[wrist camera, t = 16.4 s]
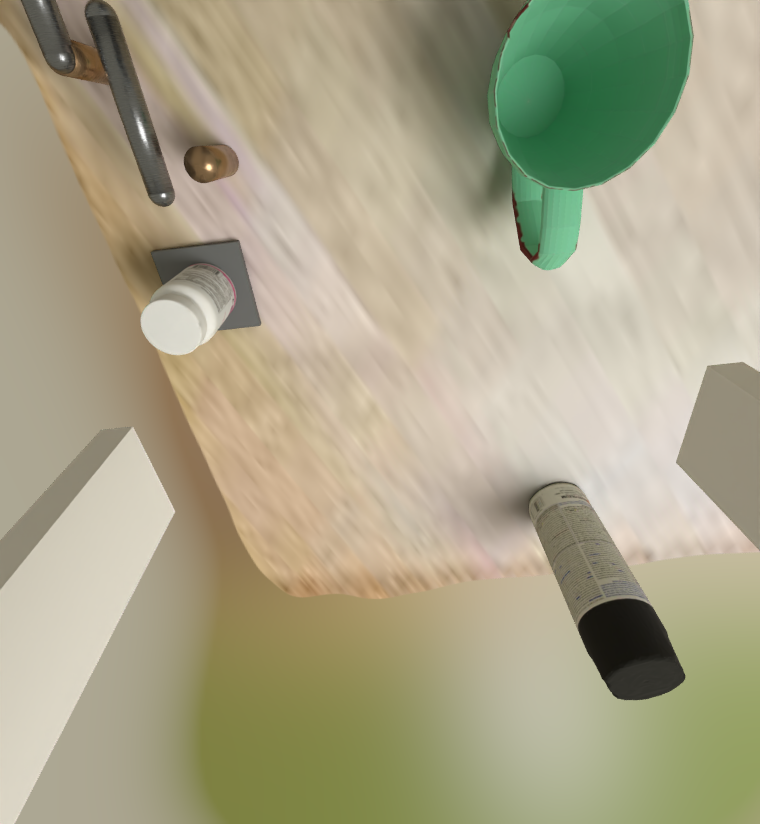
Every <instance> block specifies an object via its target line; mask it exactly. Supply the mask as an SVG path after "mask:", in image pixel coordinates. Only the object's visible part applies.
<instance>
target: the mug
mask: <svg viewBox="0 0 760 824" xmlns="http://www.w3.org/2000/svg"><path fill="white" fill-rule="evenodd" d="M693 38H694V35H693V28H692V22H691V16H690V10H689V3H688V0H527V2H526V3H525V5H524V6H523V7H522V9H521V10H520V11H519V13H518V14H517V16H516V17H515V18H514V20H513V22H512V24H511V25H510V27H509V29H508V31H507V32H506V34H505V37H504V39H503V41H502V44H501V46H500V48H499V51H498V53H497V55H496V59H495V61H494V64H493V67H492V72H491V78H490V83H489V89H488V94H487V99H488V111H489V123H490V126H491V128H492V131H493V133H494V136H495V138H496V141H497V143H498V146H499V148H500V150H501V152H502V154H503V155H504V156H505V157H506V159H507V160H508V161H509V162H510V163H511V164H512V203H513V209H514V215H515V221H516V227H517V233H518V239H519V245H520V250H521V251H522V253H523V254H524V255H525V256H526V257H527V258H528V259H529V260H530V262H531V263H532V264H534V265H535V266H537V267H539V268H541V269H543V270H552V269H556V268H559V267H560V266H562V265H563V264H564V263H565V262H566V261H567V260H568V258H569V257H570V256H571V255H572V254H573V253H574V251H575V250H576V247H577V241H578V235H579V228H580V220H581V209H582V197H583V189H585V188H589V187H593V186H598V185H602V184H604V183H605V182H607V181H609V180H611V179H612V178H614V177H616V176H617V175H619V174H621V173H622V172H624V171H626V170H628V169H629V168H631V167H632V166H633V165H634V164H635V163H636V162H637V161H638V160H639V159H640V158H641V157H642V156H643V155H644V154H645V153H646V152H647V151H648V150H649V149H650V148H651V147H652V146H653V145H654V144H655V143H656V141H657V140H658V138H659V136H660V135H661V133H662V132H663V130H664V129H665V127H666V126H667V124H668V122H669V121H670V119H671V118H672V116H673V115H674V113H675V111H676V109H677V106H678V103H679V101H680V98H681V95H682V93H683V90H684V87H685V84H686V82H687V79H688V76H689V71H690V63H691V54H692V46H693Z"/></svg>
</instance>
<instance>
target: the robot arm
mask: <svg viewBox="0 0 760 824" xmlns="http://www.w3.org/2000/svg"><path fill="white" fill-rule="evenodd" d="M676 463H677V464H678V465H679V466H680V467H681V468H682V469H683V470H684V471H685V472H686V473H687V474H688V476H689V477H690V478H691V479H692V480H693V481H694V482H695V483H696V484H697V485H698V486H699V487H700V488H701V489H702V490H703V491H704V492H705V493H706V494H707V496H708V497H709V498H710V499H711V500H712V501H713V502H714V503H715V504H716V505H717V506H718V507H719V508H720V509H721V510H722V511H723V512H724V513H725V515H726V516H727V517H728V518H729V519H730V520H731V521H732V522H733V523H734V524H735V525H736V526H737V527H738V528H739V529H740V530H741V531H742V532H743V533H744V535H745V536H746V537H747V538H748V539H749V540H750V541H751V542H752V543H753V544H754V545H755V546H756V547H757V548H758V549H759V550H760V372H758V371H757V370H755V369H753V368H752V367H750V366H748V365H747V364H745V363H743V362H739V363H730V364H720V365H711V366H707V369H706V372H705V375H704V378H703V381H702V384H701V387H700V390H699V393H698V396H697V400H696V403H695V406H694V409H693V412H692V415H691V418H690V421H689V424H688V427H687V430H686V433H685V436H684V439H683V443H682V446H681V449H680V452H679V455H678V458H677V461H676ZM174 513H175V510H174V508H173V506H172V504H171V502H170V500H169V498H168V496H167V494H166V492H165V490H164V488H163V486H162V484H161V482H160V480H159V478H158V476H157V474H156V472H155V470H154V468H153V466H152V464H151V462H150V460H149V458H148V456H147V454H146V452H145V450H144V448H143V446H142V444H141V442H140V440H139V438H138V436H137V434H136V432H135V430H134V428H133V427H125V428H115V429H105V430H101V431H100V432H99V433H98V434H97V435H96V436H95V437H94V438H93V439H92V440H91V442H90V443H89V444H88V445H87V446H86V447H85V448H84V449H83V450H82V452H80V454H79V455H78V456H77V457H76V458H75V459H74V460H73V461H72V462H71V464H70V465H69V466H68V467H67V468H66V469H65V470H64V471H63V472H62V474H60V476H59V477H58V478H57V479H56V480H55V481H54V482H53V483H52V484H51V485H50V487H49V488H48V489H47V490H46V491H45V492H44V493H43V494H42V495H41V496H40V497H39V499H38V500H37V501H36V502H35V503H34V504H33V505H32V506H31V507H30V509H29V510H28V511H27V512H26V513H25V514H24V515H23V516H22V517H21V518H20V519H19V521H18V522H17V523H16V524H15V525H14V526H13V527H12V528H11V529H10V530H9V531H8V533H7V534H6V535H5V536H4V537H3V538H2V539H1V540H0V824H15V822H16V820H17V818H18V816H19V814H20V812H21V810H22V808H23V806H24V804H25V802H26V800H27V798H28V796H29V795H30V793H31V791H32V789H33V787H34V785H35V783H36V781H37V779H38V777H39V775H40V773H41V771H42V769H43V767H44V765H45V763H46V761H47V760H48V758H49V756H50V754H51V752H52V749H53V748H54V746H55V744H56V742H57V740H58V738H59V736H60V734H61V732H62V730H63V728H64V726H65V725H66V723H67V721H68V719H69V717H70V715H71V713H72V711H73V709H74V707H75V705H76V703H77V701H78V699H79V697H80V695H81V693H82V691H83V690H84V688H85V686H86V684H87V682H88V680H89V678H90V676H91V674H92V672H93V670H94V668H95V666H96V664H97V662H98V660H99V658H100V656H101V655H102V652H103V651H104V649H105V647H106V645H107V643H108V641H109V639H110V637H111V635H112V633H113V631H114V629H115V627H116V625H117V623H118V622H119V620H120V617H121V616H122V614H123V612H124V610H125V608H126V606H127V604H128V602H129V600H130V598H131V596H132V594H133V592H134V590H135V589H136V586H137V585H138V583H139V581H140V579H141V577H142V575H143V573H144V571H145V569H146V567H147V565H148V563H149V561H150V559H151V557H152V555H153V554H154V552H155V550H156V548H157V546H158V544H159V542H160V540H161V538H162V536H163V534H164V532H165V530H166V528H167V526H168V524H169V522H170V520H171V519H172V517H173V515H174Z"/></svg>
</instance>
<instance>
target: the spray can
mask: <svg viewBox="0 0 760 824" xmlns="http://www.w3.org/2000/svg"><path fill="white" fill-rule="evenodd" d="M529 514H530V517H531V520H532V522H533V525H534V527H535V529H536V532H537V534H538V536H539V539H540V541H541V544H542V546H543V548H544V551H545V553H546V555H547V558H548V560H549V563H550V565H551V567H552V570H553V572H554V575H555V577H556V579H557V582H558V584H559V586H560V589H561V591H562V593H563V596H564V598H565V601H566V603H567V605H568V608H569V610H570V612H571V615H572V617H573V620H574V622H575V624H576V627H577V629H578V631H579V634H580V636H581V638H582V640H583V643H584V645H585V648H586V650H587V652H588V654H589V656H590V657H591V658H592V659H593V661H594V663H595V665H596V667H597V669H598V671H599V673H600V675H601V677H602V679H603V680H604V681H605V683H606V684H607V687H608V688H609V690H610V691H611V692H612V694H613V695H614V696H615V697H617V698H618V699H624V700H643V699H649V698H652V697H656V696H659V695H662V694H665V693H667V692H669V691H671V690H673V689H674V688H676V687H677V686H679V685H680V684H681V683H682V682H683V681H684V680H685V674H684V672H683V669H682V667H681V665H680V663H679V660H678V658H677V656H676V654H675V652H674V650H673V647H672V645H671V642H670V640H669V638H668V634H667V631H666V629H665V628H664V626H663V624H662V623H661V621H660V619H659V617H658V616H657V614H656V612H655V610H654V609H653V607H652V605H651V604H650V602H649V600H648V598H647V597H646V595H645V594H644V592H643V590H642V589H641V587H640V585H639V584H638V582H637V580H636V579H635V577H634V575H633V574H632V572H631V570H630V569H629V567H628V565H627V564H626V562H625V560H624V559H623V557H622V555H621V554H620V552H619V550H618V549H617V547H616V545H615V544H614V542H613V540H612V539H611V537H610V535H609V534H608V532H607V530H606V529H605V527H604V525H603V524H602V522H601V520H600V519H599V517H598V515H597V514H596V512H595V510H594V509H593V507H592V506H591V504H590V502H589V500H588V499H587V497H586V495H585V494H584V493H583V491H582V490H581V489H579V488H578V487H577V486H576V485H573V484H569V483H555V484H551V485H548V486H546V487H545V488H543V489H541V490H539V491H538V492H537V493H536V494H535V495H534V496H533V497H532V498H531V499H530V504H529Z"/></svg>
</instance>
